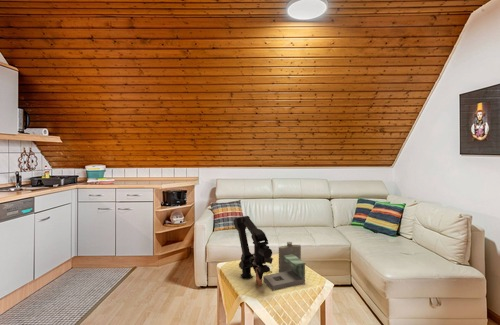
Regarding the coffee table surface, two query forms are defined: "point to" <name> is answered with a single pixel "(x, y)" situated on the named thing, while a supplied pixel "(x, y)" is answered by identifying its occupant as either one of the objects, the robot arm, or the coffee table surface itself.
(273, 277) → the socket deck
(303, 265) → the awning
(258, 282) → the peg
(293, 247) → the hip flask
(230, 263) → the coffee table surface
